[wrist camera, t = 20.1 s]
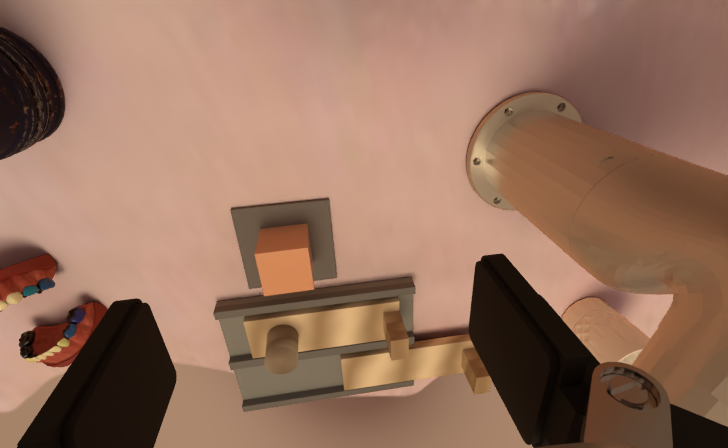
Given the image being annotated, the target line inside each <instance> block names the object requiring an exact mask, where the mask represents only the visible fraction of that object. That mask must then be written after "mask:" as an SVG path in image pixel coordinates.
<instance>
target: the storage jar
mask: <svg viewBox="0 0 728 448" xmlns="http://www.w3.org/2000/svg"><path fill="white" fill-rule="evenodd" d="M64 111H65V97H64V92H63V88H62V85H61V83H60V80H59V78H58V76H57V74H56V72H55V71H54V69H53V68H52V66H51V65H50V63H49V62H48V61H47V60H46V58H45V57H44V56H43V55H42V54H41V53H40V52H39V51H38V50H37V49H36V48H35V47H34V46H32V45H31V44H30V43H29V42H27V41H26V40H24V39H23V38H22V37H20V36H18V35H17V34H15V33H13V32H11V31H9V30H7V29H5V28H2V27H0V160H2V159H5V158H7V157H10V156H12V155H14V154H17V153H19V152H21V151H23V150H26V149H27V148H29V147H31V146H32V145H34V144H35V143H36V142H39V141H41V140H43V139H45V138H47V137H48V136H50V135H51V134H52V133H54V132H55V131H56V130H57V128H58V127H59V125H60V124H61V122H62V119H63V117H64Z"/></svg>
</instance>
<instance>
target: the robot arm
mask: <svg viewBox="0 0 728 448" xmlns="http://www.w3.org/2000/svg"><path fill="white" fill-rule="evenodd" d="M505 109H507V110H506V111H505ZM475 158H476V159H475ZM474 159H475V160H474ZM466 166H467V174H468V178H469V182H470V184H471V185H472V187H473V189H474V191H475V192H476V193H477V194H478V195H479V196H480V197H481V198H482V199H483V200H484V201H485V202H486V203H488V204H490V205H492V206H493V207H496V208H500V209H503V210H518V211H519V212H520V213H521V214H522V215H523V216H525V217H526V218H527V219H528V220H529V221H530V222H531V223H532V224H534V225H535V226H536V227H537V228H538V229H539V230H540V231H542V232H543V233H544V234H545V235H546V236H547V237H548V238H549V239H551V240H552V241H553V242H554V243H555V244H556V245H557V246H559V247H560V248H561V249H562V250H563V251H564V252H565V253H566V254H568V255H569V256H570V257H571V258H572V259H573V260H574V261H576V262H577V263H578V264H579V265H580V266H581V267H582V268H584V269H585V270H586V271H587V272H588V273H589V274H591V275H592V276H593V277H594V278H596V279H597V280H599V281H600V282H602V283H604V284H606V285H608V286H610V287H613V288H615V289H618V290H621V291H625V292H631V293H638V294H657V295H660V294H674V295H673V302H672V304H671V307H670V308H669V310H668V311H667V313H666V314H665V316H664V318H663V319H662V321H661V322H660V324H659V326H658V329H657V330H656V332H655V333H654V334H653V336H652V337H651V339H650V340H649V341H648V343H647V344H646V345H645V347H644V348H643V350H642V351H641V352H640V354H639V355H638V357H637V358H636V359H635V361H634V362H633V364H632V365H630V364H626V363H621V362H605V363H601V364H600V362H599V361H598V360H597V359H596V358H595V357H594V356H593V354H592V353H591V352H590V351H589V350H588V349H587V347H586V346H585V345H584V344H583V343H582V342H581V341H580V339H579V338H578V337H577V336H576V335H575V334H574V333H573V331H572V330H571V329H570V328H569V327H568V326H567V324H566V323H565V322H564V321H563V320H562V319H561V318H560V316H559V315H558V314H557V313H556V312H555V311H554V309H553V308H552V307H551V306H550V305H549V304H548V303H547V301H546V300H545V299H544V298H543V297H542V296H541V295H539V294H537V292H536V291H535V290H534V289H533V288H532V287H531V285H530V284H529V283H528V282H527V281H526V280H525V278H524V277H523V276H522V275H521V274H520V273H519V272H518V270H517V269H516V268H515V267H514V266H513V265H512V263H511V262H510V261H509V260H508V259H507V258H506V256H505V255H503V254H494V255H486V256H483V257H482V258H481V261H478V262H476V265H475V274H474V284H473V293H472V302H471V311H470V321H469V336H470V339H471V342H472V343H473V345H474V347H475V349H476V351H477V353H478V355H479V357H480V359H481V361H482V362H483V364H484V366H485V368H486V370H487V372H488V374H489V376H490V378H491V380H492V381H493V383H494V385H495V387H496V389H497V391H498V393H499V395H500V396H501V399H502V400H503V402H504V404H505V406H506V408H507V410H508V412H509V414H510V415H511V417H512V419H513V421H514V423H515V425H516V427H517V429H518V430H519V433H520V435H521V437H522V438H523V440H524V441H525V443H526V444H528V445H530V444H532V446H533V447H534V448H728V175H725V174H722V173H719V172H716V171H713V170H710V169H707V168H704V167H701V166H698V165H696V164H693V163H690V162H687V161H685V160H682V159H679V158H676V157H673V156H670V155H667V154H665V153H662V152H659V151H657V150H654V149H651V148H648V147H646V146H643V145H640V144H637V143H635V142H632V141H629V140H627V139H624V138H621V137H618V136H616V135H613V134H610V133H608V132H605V131H602V130H599V129H597V128H594V127H591V126H588V125H586V124H583V122H582V119H581V116H580V114H579V113H578V111H577V110H576V108H575V107H574V106H573V105H572V104H571V103H570V102H569V101H567V100H565V99H564V98H562V97H560V96H557V95H554V94H551V93H545V92H527V93H524V94H520V95H517V96H514V97H512V98H510V99H508V100H506V101H504V102H503V103H501V104H500V105H498V106H497V107H496V108H494V109H493V110H492V111H491V112H490V113H489V114H488V115H487V116H486V117H485V118H484V119H483V121H482V122H481V123H480V125H479V126H478V128H477V129H476V131H475V133H474V135H473V137H472V139H471V142H470V145H469V148H468V152H467V160H466ZM175 384H176V371H175V368H174V365H173V363H172V360H171V358H170V355H169V353H168V351H167V348H166V346H165V343H164V341H163V338H162V336H161V333H160V331H159V328H158V326H157V323H156V321H155V318H154V316H153V313H152V311H151V309H150V306H149V305H148V304H147V303H142V301H141V300H140V299H129V300H121V301H115V302H113V303H112V304H111V306H110V307H109V309H108V310H107V312H106V313H105V315H104V316H103V318H102V319H101V321H100V322H99V324H98V325H97V327H96V328H95V330H94V331H93V333H92V334H91V336H90V337H89V339H88V340H87V341H86V343H85V344H84V346H83V347H82V349H81V350H80V352H79V353H78V355H77V356H76V358H75V359H74V361H73V362H72V364H71V365H70V367H69V368H68V370H67V371H66V373H65V374H64V376H63V377H62V379H61V380H60V382H59V383H58V385H57V386H56V388H55V389H54V391H53V392H52V394H51V395H50V397H49V398H48V400H47V401H46V402H45V404H44V405H43V407H42V408H41V410H40V412H39V413H38V415H37V416H36V418H35V419H34V420H33V422H32V423H31V425H30V426H29V428H28V429H27V431H26V432H25V434H24V435H23V437H22V438H21V440H20V441H19V443H18V444H17V445H18V447H17V448H153V447H154V444H155V442H156V439H157V436H158V433H159V430H160V427H161V424H162V421H163V418H164V416H165V413H166V410H167V407H168V404H169V401H170V398H171V395H172V393H173V390H174V387H175Z"/></svg>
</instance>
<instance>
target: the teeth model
mask: <svg viewBox="0 0 728 448" xmlns="http://www.w3.org/2000/svg"><path fill="white" fill-rule="evenodd" d="M56 267H57V265H56V263H55V261H54V260H53V258H52V257H51V255H50V254H46V255H42V256H39V257H36V258H32V259H29V260H26V261H23V262H20V263H17V264H14V265H11V266H9V267H6V268H3V269H1V270H0V312H1V311H2V310H3V309H5V308H6V307H7V306H8V304H7V303H9V304H17V303H18V302H20V300H21V299H22V297H23V298H25V297H27V296H30V295H33V294H34V293H39V294H40V293H42V291H43V290H46V289H49V288H53V287H54V286H55V282H54V281H53V280H52V279H53V277H54V274H55V270H56ZM6 302H7V303H6ZM106 312H107V308H106V307H105V306H104V305H102V304H100V303H97V302H94V303H93V302H91V303H88V304H85V305H81V306H78V307H75V308H73V309H72V310H70V311H69V315H68V316H67V318H66V322H65V323H62V324H60V325H55V326H38V327H35V328H34V329H33V330H32V331H27V332H25V333H23V334H22V335H21V338H20V339H19V342H20V343H19V346H20V347H21V349H20V351H21V352H20V355H21V356H22V357H23V358H24V359H26V360H28V361H29V362H43V363H44V364H46V365H47V366H51V367H65V366H68V365H70V364H71V363H72V362H73V361H74V359H75V358H76V356H77V355H78V353H79V352H80V350H81V349H82V347H83V346H84V344H85V343H86V341H87V340H88V339H89V337H90V336H91V334H92V333H93V331H94V330H95V328H96V327H97V325H98V324H99V322H100V321H101V319H102V318H103V316H104V315H105V313H106Z"/></svg>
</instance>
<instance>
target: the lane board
mask: <svg viewBox="0 0 728 448" xmlns="http://www.w3.org/2000/svg"><path fill="white" fill-rule="evenodd" d="M413 294H415V285H414V282H413V280H412V278H411V277H407V278H399V279H391V280H383V281H375V282H367V283H359V284H351V285H343V286H335V287H327V288H319V289H314V290H307V291H300V292H292V293H285V294H277V295H270V296H256V297H248V298H240V299H232V300H225V301H217V303H216V306H215V310H214V316H215V320H218V319H219V321H220V325H221V328H222V331H223V335H224V338H225V341H226V345H227V348H228V351H229V355H230V360H229V365H230V369H231V370H234V371H235V375H236V378H237V381H238V385H239V388H240V391H241V394H242V398H243V405H242V408H243V411H244V412H245V411H252V410H259V409H265V408H271V407H278V406H284V405H291V404H297V403H304V402H310V401H317V400H323V399H330V398H336V397H342V396H349V395H355V394H362V393H368V392H374V391H381V390H387V389H394V388H400V387H407V386H413V385H414V380H410V381H403V382H397V383H390V384H384V385H377V386H371V387H364V388H358V389H351V390H345V391H344V383H343V374H342V365H341V356H340V354H346V353H353V352H360V351H367V350H374V349H381V348H388V347H387V343H386V340H380V341H373V342H366V343H359V344H352V345H345V346H338V347H331V348H324V349H317V350H310V351H303V352H298V365H297V367H296V368H295V369H294V370H293V371H292V372H290V373H287V374H274V373H271V372H269V371H268V370H267V369H266V367H265V365H264V361H265V357H261V358H254V359H253V357H252V353H251V349H250V346H249V342H248V338H247V334H246V330H245V326H244V323H243V321H244V316H249V315H256V314H264V313H272V312H279V311H287V310H294V309H302V308H310V307H317V306H325V305H333V304H340V303H348V302H356V301H363V300H371V299H378V298H386V297H394V296H398V299H399V311H400V314H401V317H402V320H403V323H404V326H405V329H406V332H407V335H408V338H409V344H414V334H413V331H412V330H413Z"/></svg>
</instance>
